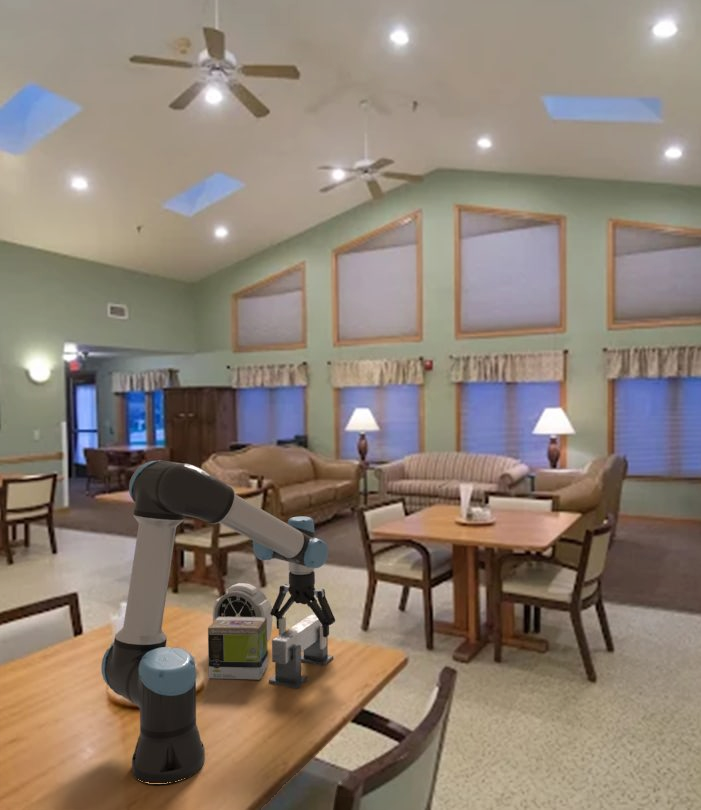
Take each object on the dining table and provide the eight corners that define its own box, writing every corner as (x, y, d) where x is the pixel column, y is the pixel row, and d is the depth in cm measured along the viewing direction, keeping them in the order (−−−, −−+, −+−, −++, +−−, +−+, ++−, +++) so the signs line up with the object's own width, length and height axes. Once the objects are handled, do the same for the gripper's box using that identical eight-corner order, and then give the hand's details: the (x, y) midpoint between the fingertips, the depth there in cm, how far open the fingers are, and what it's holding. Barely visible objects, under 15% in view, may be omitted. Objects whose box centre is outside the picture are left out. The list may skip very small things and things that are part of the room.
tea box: (268, 666, 185) (267, 616, 185) (260, 681, 175) (259, 628, 175) (218, 664, 187) (218, 614, 187) (207, 679, 177) (207, 627, 177)
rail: (285, 664, 170) (284, 642, 170) (272, 662, 171) (272, 639, 171) (329, 631, 193) (328, 612, 193) (317, 629, 195) (317, 610, 195)
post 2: (324, 665, 185) (324, 632, 185) (297, 660, 189) (297, 627, 189) (333, 658, 190) (333, 625, 190) (307, 653, 194) (307, 620, 194)
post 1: (296, 688, 171) (296, 652, 170) (268, 682, 174) (268, 646, 174) (307, 679, 176) (307, 644, 176) (280, 673, 180) (279, 639, 180)
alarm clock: (210, 650, 197) (210, 586, 197) (223, 640, 205) (223, 578, 205) (263, 656, 192) (262, 590, 192) (274, 646, 200) (274, 582, 200)
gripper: (346, 572, 180) (346, 645, 180) (272, 563, 191) (272, 632, 191) (334, 579, 173) (335, 655, 174) (258, 569, 184) (259, 641, 184)
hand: (302, 643), depth 182 cm, fingers open, 13 cm apart
